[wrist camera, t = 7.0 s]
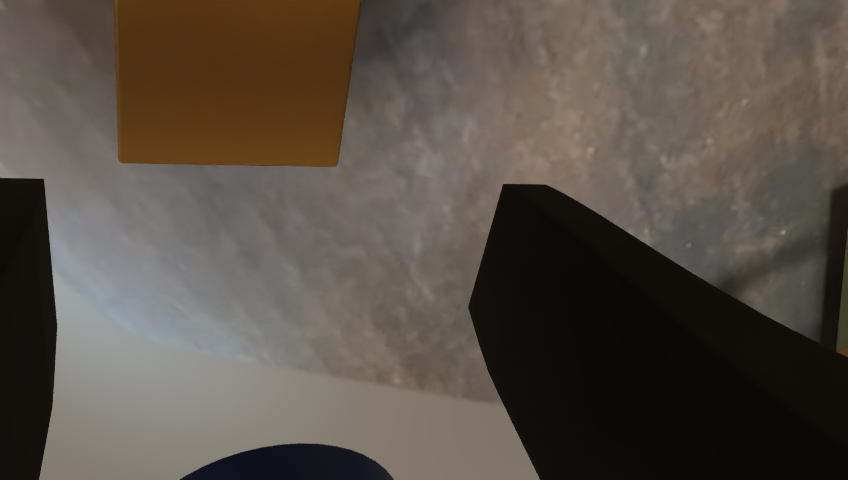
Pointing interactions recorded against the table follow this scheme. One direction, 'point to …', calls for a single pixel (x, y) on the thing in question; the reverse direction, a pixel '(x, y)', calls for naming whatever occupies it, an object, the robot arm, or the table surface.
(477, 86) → the table surface
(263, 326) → the table surface
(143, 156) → the block
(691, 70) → the table surface
